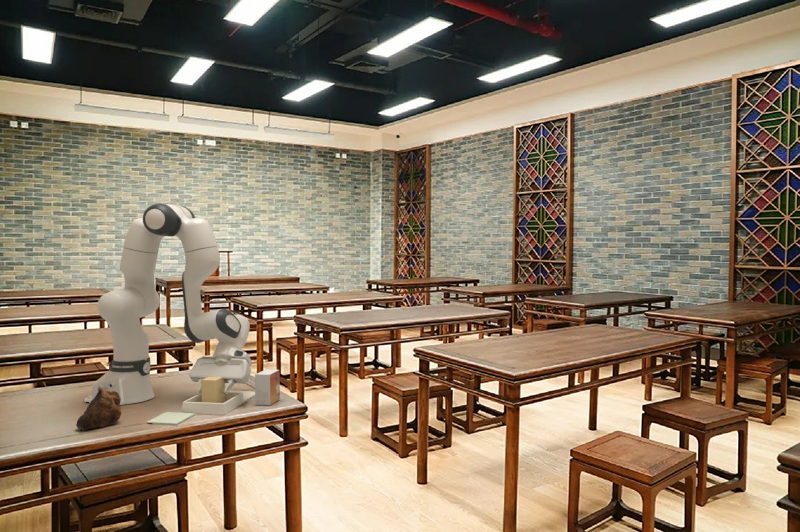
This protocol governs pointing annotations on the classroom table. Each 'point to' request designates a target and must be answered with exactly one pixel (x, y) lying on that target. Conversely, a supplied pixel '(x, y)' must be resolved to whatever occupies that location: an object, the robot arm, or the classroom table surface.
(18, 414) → the classroom table surface
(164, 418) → the sage mat
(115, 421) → the decorative rock
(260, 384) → the small box
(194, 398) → the box
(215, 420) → the classroom table surface
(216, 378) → the block
